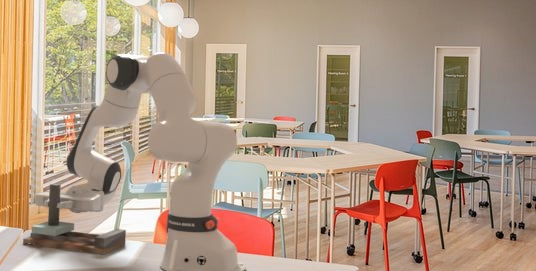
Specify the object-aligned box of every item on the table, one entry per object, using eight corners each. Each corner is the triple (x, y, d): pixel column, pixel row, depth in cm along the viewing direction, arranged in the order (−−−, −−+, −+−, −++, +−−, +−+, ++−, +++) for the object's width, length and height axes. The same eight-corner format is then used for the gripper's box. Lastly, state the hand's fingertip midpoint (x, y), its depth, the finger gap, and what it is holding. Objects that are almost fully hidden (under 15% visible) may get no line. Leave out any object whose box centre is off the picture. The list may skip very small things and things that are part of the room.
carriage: (74, 229, 164) (76, 184, 164) (55, 236, 156) (57, 187, 155) (51, 227, 166) (52, 181, 166) (31, 232, 158) (33, 185, 157)
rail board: (125, 244, 162) (125, 229, 162) (103, 254, 150) (104, 238, 150) (49, 235, 168) (50, 220, 168) (23, 243, 157) (23, 228, 156)
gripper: (51, 185, 176) (22, 191, 162) (108, 191, 171) (83, 197, 157) (51, 205, 176) (21, 212, 162) (107, 211, 171) (82, 219, 157)
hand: (52, 205), depth 160 cm, fingers closed on carriage, 3 cm apart
